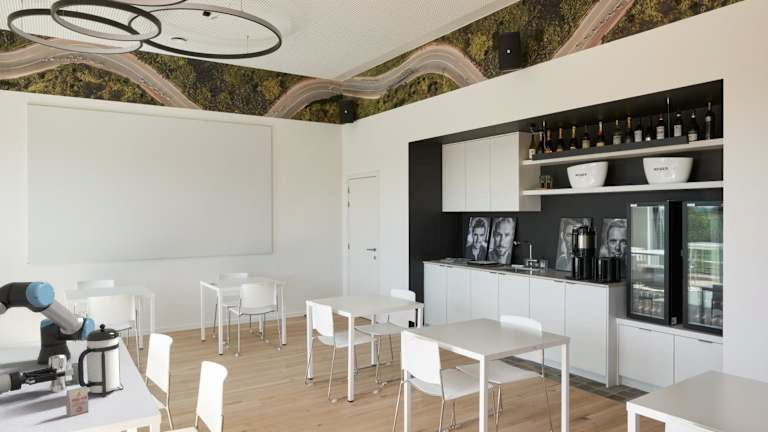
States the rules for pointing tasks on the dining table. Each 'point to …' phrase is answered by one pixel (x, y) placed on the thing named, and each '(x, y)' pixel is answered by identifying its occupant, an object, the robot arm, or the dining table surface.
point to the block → (75, 373)
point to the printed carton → (77, 401)
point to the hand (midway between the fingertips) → (70, 369)
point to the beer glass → (56, 365)
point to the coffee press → (101, 361)
